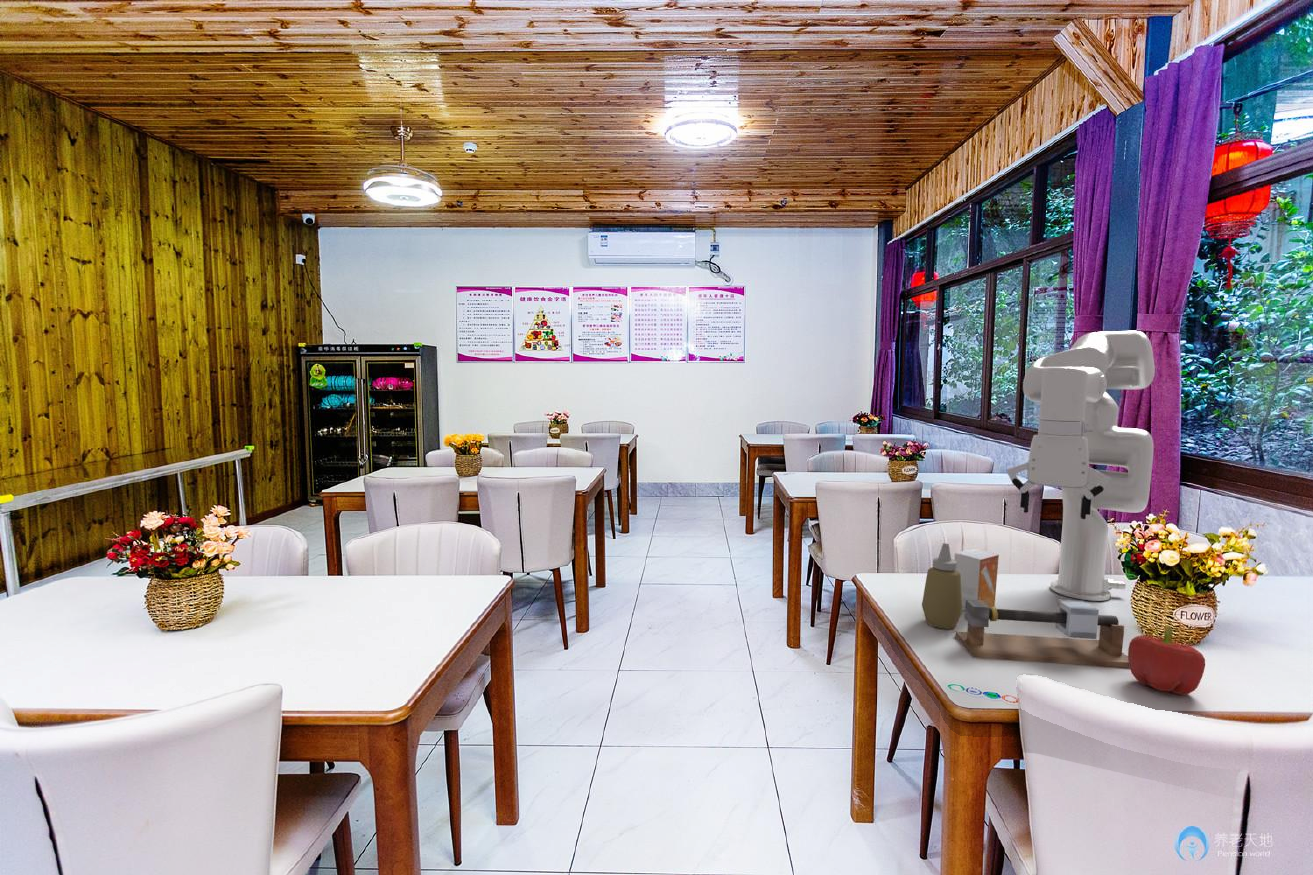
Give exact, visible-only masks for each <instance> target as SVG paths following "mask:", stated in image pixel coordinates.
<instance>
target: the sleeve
mask: <svg viewBox="0 0 1313 875" xmlns="http://www.w3.org/2000/svg"><path fill="white" fill-rule="evenodd" d="M1099 610H1100V609H1098V608H1097V607H1095V606H1093V604H1090V603H1089V602H1087V600H1073V599H1057V605H1056V613H1067V623H1066V624H1064V623H1055V629H1057V630H1058V631H1059V632H1061V633H1062V634H1063V635H1064V636H1066V638H1072V639H1088V640H1097V635H1098V634H1097V632H1098V615H1099Z"/></svg>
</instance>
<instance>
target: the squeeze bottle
mask: <svg viewBox="0 0 1313 875" xmlns="http://www.w3.org/2000/svg"><path fill="white" fill-rule="evenodd" d="M956 565H957V562H956V561H955V559H952V555H951V548H950V545H949V543H945V542H944V543H942V545H941V548H940V552H939V555H938V557H934V558H933V559H932V567H929V568H928V570H927V573H926V577H925V584H924V590H923V594H922V595H923V596H922V601H921V606H922V611H923V615H924V617H925V622H926V623H927V624H928V625H930V626H932V627H934V628H938V629H944V630H945V629H946V630H947V629H948V630H951V629H955V628H956V626H957V624H958V623H959V620H960V617H961V615H962V614H963V610H962V591H961V574H960V573H959V572H958V571H957V570H956Z"/></svg>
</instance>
